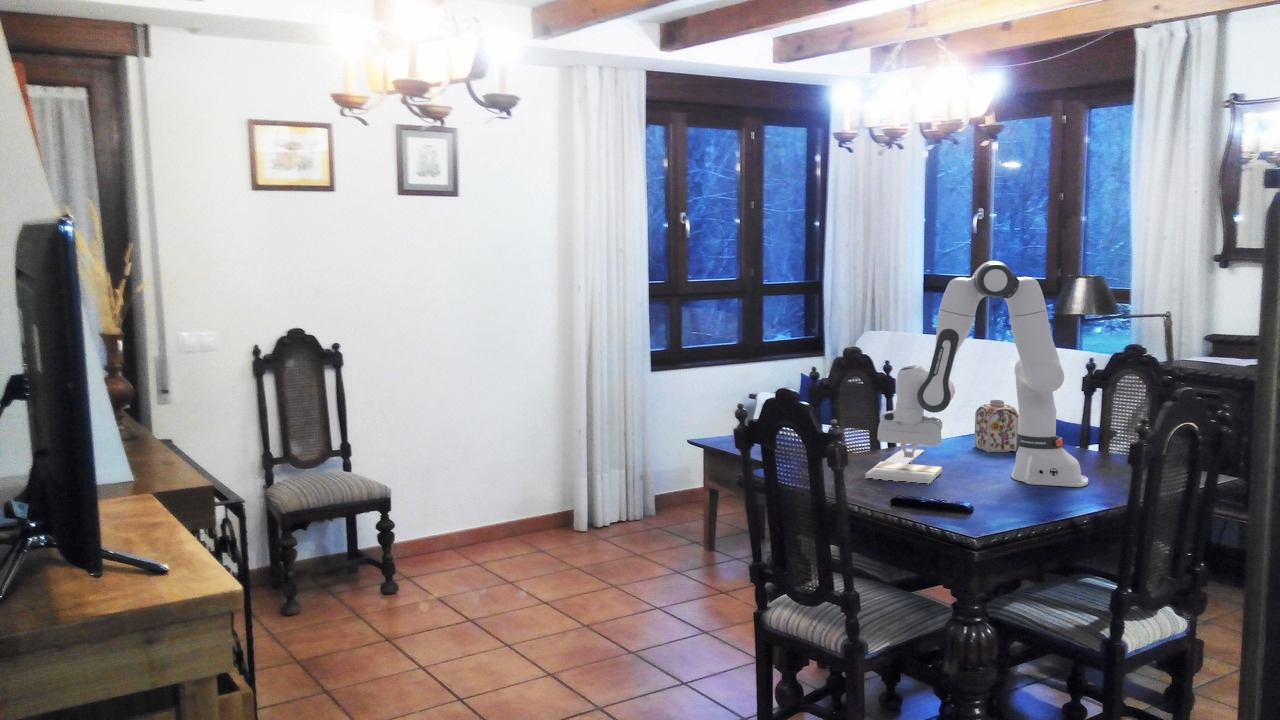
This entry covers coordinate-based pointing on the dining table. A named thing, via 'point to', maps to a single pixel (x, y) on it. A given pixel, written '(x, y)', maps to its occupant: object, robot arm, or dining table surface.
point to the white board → (900, 475)
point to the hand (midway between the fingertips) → (908, 457)
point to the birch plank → (910, 467)
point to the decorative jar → (996, 427)
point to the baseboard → (900, 457)
